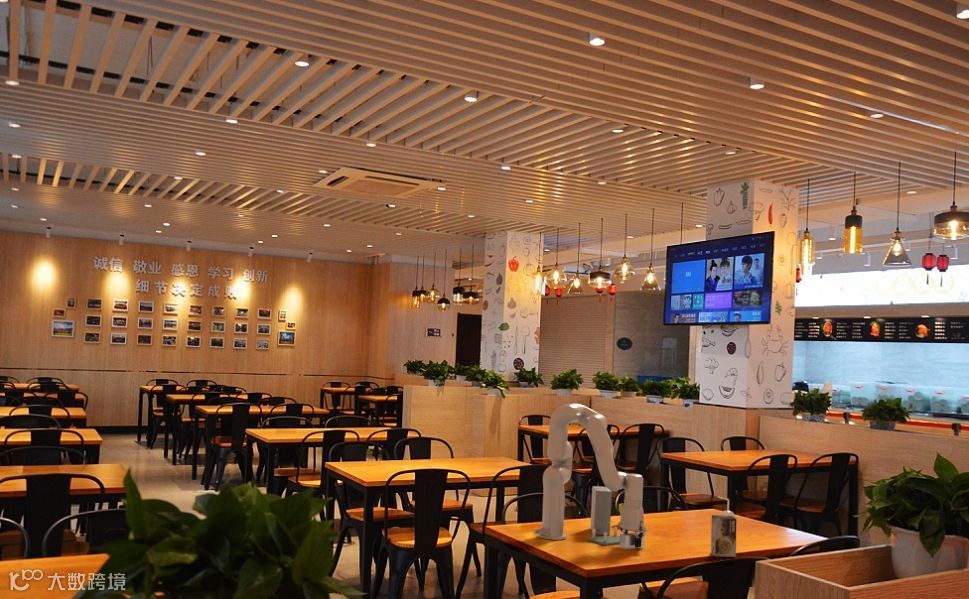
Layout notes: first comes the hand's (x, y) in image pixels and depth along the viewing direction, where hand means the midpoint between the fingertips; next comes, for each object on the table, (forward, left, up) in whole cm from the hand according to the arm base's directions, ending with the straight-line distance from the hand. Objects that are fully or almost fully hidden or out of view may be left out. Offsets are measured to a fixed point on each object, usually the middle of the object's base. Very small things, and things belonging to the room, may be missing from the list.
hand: (631, 545), depth 366 cm
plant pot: (+35, +36, -1) cm, 50 cm away
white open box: (0, 0, -1) cm, 1 cm away
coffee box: (+28, -26, -1) cm, 38 cm away
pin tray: (0, +13, -1) cm, 13 cm away
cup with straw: (+53, -8, -1) cm, 54 cm away
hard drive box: (+10, +30, -1) cm, 32 cm away
